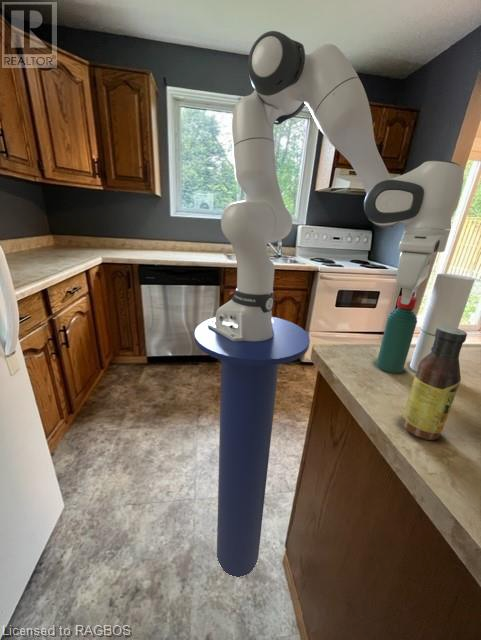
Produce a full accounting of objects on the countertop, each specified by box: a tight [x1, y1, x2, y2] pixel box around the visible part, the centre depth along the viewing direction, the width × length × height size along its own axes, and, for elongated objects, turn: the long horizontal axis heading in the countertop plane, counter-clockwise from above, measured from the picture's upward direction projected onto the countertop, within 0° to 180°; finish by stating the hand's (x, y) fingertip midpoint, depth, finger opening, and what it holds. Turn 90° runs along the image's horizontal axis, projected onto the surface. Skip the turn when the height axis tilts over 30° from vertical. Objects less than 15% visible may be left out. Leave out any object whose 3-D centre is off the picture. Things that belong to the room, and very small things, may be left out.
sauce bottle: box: [402, 326, 468, 441], centre depth 47 cm, size 6×6×20 cm
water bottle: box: [375, 306, 418, 374], centre depth 69 cm, size 6×6×19 cm
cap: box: [396, 295, 418, 310], centre depth 66 cm, size 4×4×2 cm
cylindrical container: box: [409, 273, 476, 373], centre depth 68 cm, size 7×7×25 cm
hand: (407, 301), depth 66 cm, fingers open, 5 cm apart
